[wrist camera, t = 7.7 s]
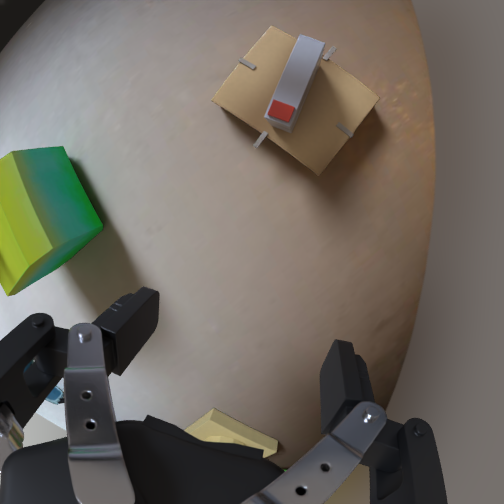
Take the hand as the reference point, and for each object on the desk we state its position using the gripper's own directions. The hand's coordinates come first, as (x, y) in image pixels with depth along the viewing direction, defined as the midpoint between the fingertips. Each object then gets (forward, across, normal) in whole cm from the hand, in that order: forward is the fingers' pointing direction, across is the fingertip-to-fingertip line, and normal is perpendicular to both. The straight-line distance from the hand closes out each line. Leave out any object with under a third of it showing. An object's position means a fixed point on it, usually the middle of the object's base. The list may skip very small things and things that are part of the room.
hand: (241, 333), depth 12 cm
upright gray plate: (+11, +1, -12) cm, 16 cm away
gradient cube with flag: (+14, +23, +2) cm, 27 cm away
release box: (+14, -2, +30) cm, 33 cm away
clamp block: (+14, +1, -12) cm, 18 cm away
